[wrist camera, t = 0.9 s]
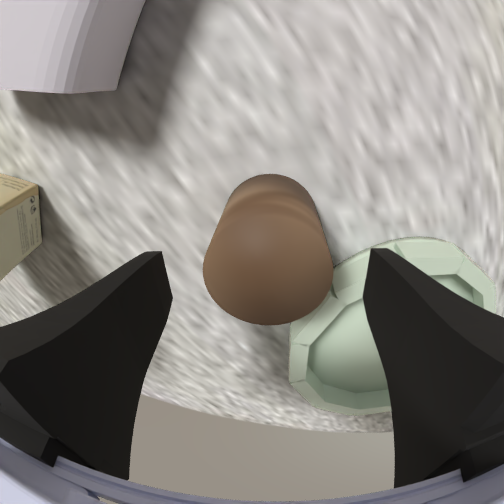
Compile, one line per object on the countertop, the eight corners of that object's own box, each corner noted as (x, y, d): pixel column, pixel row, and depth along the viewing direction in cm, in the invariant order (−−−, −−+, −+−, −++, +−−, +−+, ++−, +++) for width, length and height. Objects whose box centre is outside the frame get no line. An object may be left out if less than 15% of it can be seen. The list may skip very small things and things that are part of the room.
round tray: (504, 237, 13) (523, 255, 11) (441, 380, 20) (448, 399, 18) (291, 237, 15) (293, 260, 13) (286, 396, 21) (286, 420, 20)
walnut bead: (317, 173, 13) (338, 215, 9) (314, 257, 15) (327, 324, 11) (221, 175, 13) (194, 217, 9) (229, 258, 16) (211, 324, 11)
